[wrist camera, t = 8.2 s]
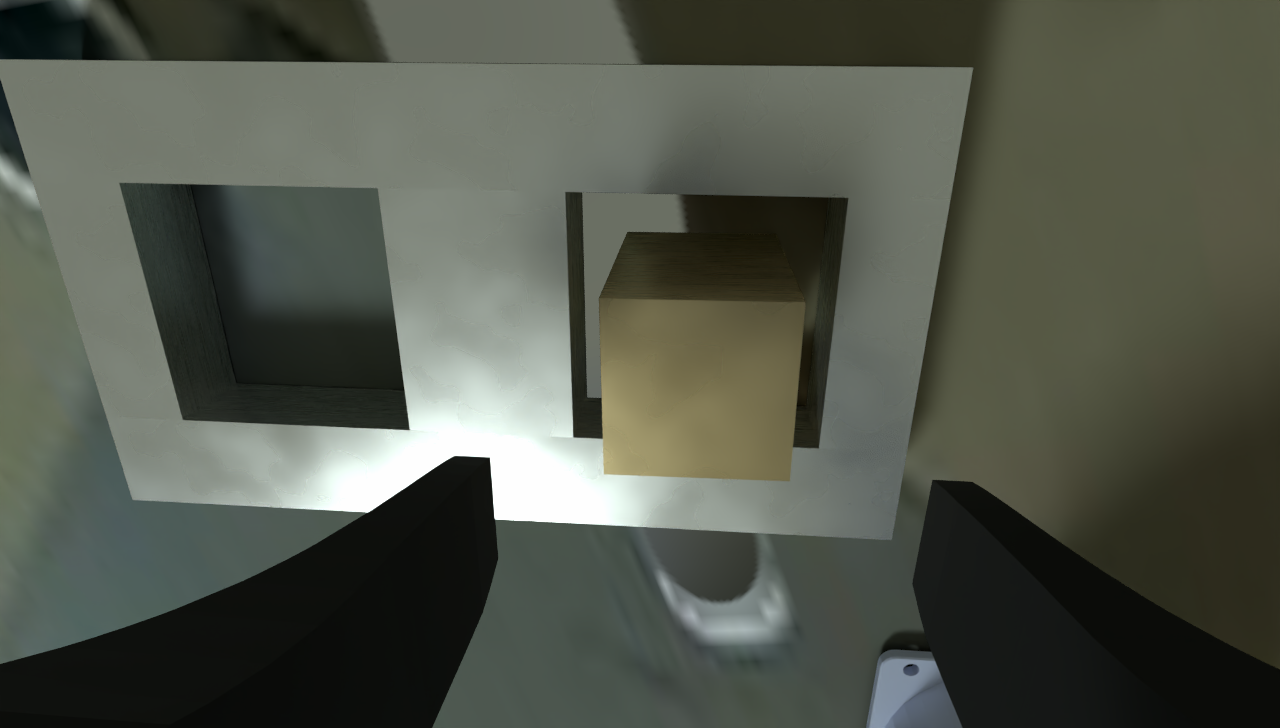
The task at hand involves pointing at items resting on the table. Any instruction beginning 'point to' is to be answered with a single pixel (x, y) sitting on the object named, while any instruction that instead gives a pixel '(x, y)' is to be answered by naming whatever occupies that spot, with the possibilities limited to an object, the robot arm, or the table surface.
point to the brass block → (700, 357)
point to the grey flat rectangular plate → (486, 267)
